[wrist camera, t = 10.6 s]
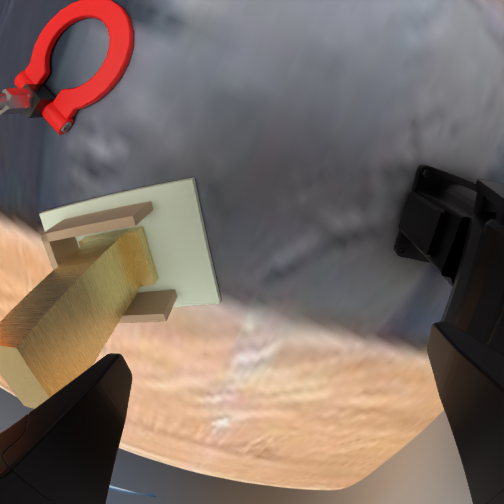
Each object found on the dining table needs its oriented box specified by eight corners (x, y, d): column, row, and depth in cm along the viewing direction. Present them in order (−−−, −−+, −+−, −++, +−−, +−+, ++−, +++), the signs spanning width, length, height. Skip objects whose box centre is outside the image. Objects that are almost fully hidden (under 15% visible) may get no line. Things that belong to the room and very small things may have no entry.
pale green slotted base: (194, 177, 19) (178, 191, 16) (221, 299, 23) (213, 329, 20) (43, 211, 21) (15, 228, 17) (79, 307, 24) (60, 332, 21)
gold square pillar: (143, 225, 20) (31, 349, 9) (158, 278, 22) (80, 419, 10) (85, 236, 21) (-29, 341, 9) (102, 283, 22) (13, 402, 11)
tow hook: (92, -16, 14) (17, 80, 16) (-22, -78, 2) (-114, 88, 4) (161, 40, 16) (73, 142, 18) (45, -39, 4) (-74, 186, 7)
